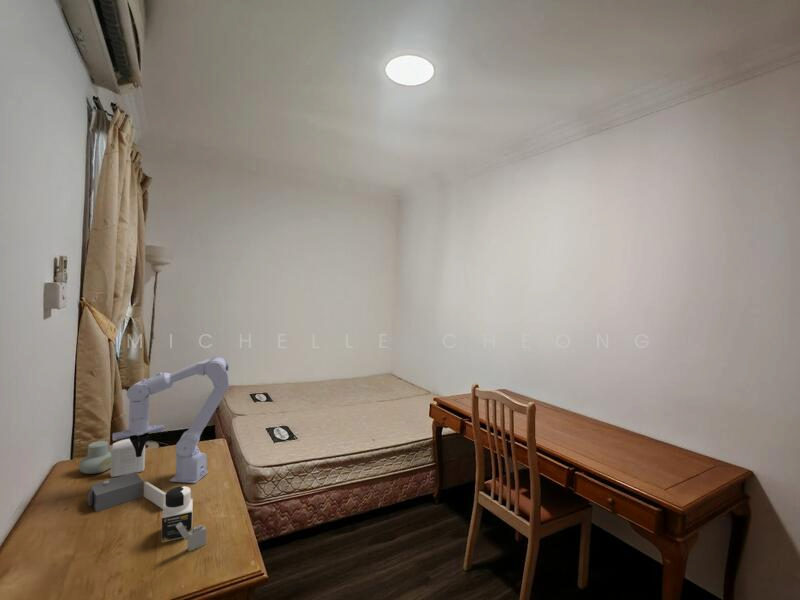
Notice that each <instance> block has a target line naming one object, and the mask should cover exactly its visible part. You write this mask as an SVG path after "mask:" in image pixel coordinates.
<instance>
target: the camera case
mask: <svg viewBox="0 0 800 600" xmlns="http://www.w3.org/2000/svg"><path fill="white" fill-rule="evenodd" d="M140 498H144V481H143V479H142V478H141V477H140V476H139V474H138V472H137V473H136V472H134V473H130V474H126V475H120V476H115V477H112V478H109V479H106V480H103V481H102V480H101V481H99V482H94V483H91V484H90V490H89V492H88V493H87V502H88V503H87V504H88V506H89V507H91V506H92V507H93V509H94V511H95V512H96V513H97V512H100V511H103V510H107V509H109V508H112V507H116V506H119V505H122V504H125V503H128V502H131V501H134V500H137V499H140Z"/></svg>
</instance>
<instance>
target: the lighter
mask: <svg viewBox="0 0 800 600" xmlns="http://www.w3.org/2000/svg"><path fill="white" fill-rule="evenodd" d="M176 528H177V529H178V530H179V532H180V533H181V535H182V536H183V538H182V539H184V540H187V550H188V552H192V550H193V551H194V549H195V550H196V548H197V549H199V548H201V546H202V547H204V546H206V545H207V529H208V528H207V527H206V526H205V525H203V524H202V525H201V524H198V525H196V526H194V527H193V526H192V531H190V532H187V530H186V529H185V527H184V526H183V524H182V523H181V522H180V523H179V524H177V525H176ZM205 544H206V545H205ZM203 545H204V546H203ZM198 547H199V548H198Z"/></svg>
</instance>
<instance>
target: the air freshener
mask: <svg viewBox="0 0 800 600" xmlns="http://www.w3.org/2000/svg"><path fill="white" fill-rule="evenodd" d="M110 468H111V451H109V442H108V441H107V440H98V441H94V442H91V443H89V444H88V445H87V455H86V456H85V457H83V458H82V459H80V461H79V463H78V470H79V471H80V472H81V473H83V474H88V475H94V474H95V475H96V474H100V473H105V472H106V471H107V470H109V469H110Z"/></svg>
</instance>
